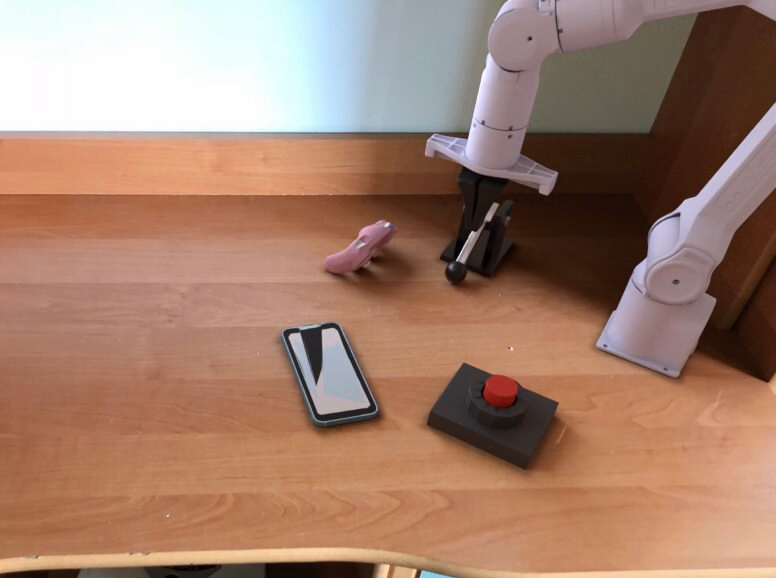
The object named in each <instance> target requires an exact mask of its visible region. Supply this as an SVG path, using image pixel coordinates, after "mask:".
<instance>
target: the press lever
mask: <svg viewBox="0 0 776 578" xmlns="http://www.w3.org/2000/svg"><path fill="white" fill-rule="evenodd" d="M499 209H500V204H499V203H497V202H494V203H493V205H492V206H491V208H490V210H489V212H488V213H487V215H486V218H485V220H484V222H483V225H482V226H481V227H480V229H479V230H478V231H477V232H473V231H472V233H471V234H470V236H469V238H468V240H467V242H466V244H465V246H464V248H463V249H462V251H461V253H460V255H459V257H458V259H457V261H453V262H451V263H448V264H447V265H446V267H445V269H444V276H445V278H446V280H447V281H448V282H449V283H452V284H460V283H462V282H463V281H464V280H465V279H466V278H467V275H468V270H467V268H466V266H465V265H466V263H467V261H468V259H469V257H470V256H471V254H472V252H473V250H474V248H475V246H476V244H477V242H478V241H479V239H480V237H481V235H482V233H483V231H484V229H485V230H488V231H490V230H491V226H492V222H493V219H494V215H495V214H496V212H497V211H498V210H499Z"/></svg>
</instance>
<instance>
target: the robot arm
mask: <svg viewBox="0 0 776 578" xmlns="http://www.w3.org/2000/svg"><path fill="white" fill-rule="evenodd" d="M735 6H746V7H748V8H750V9H752V10H754V11H755V12H757V13H759V14H761V15H763V16H765V17H767V18H769V19H770V20H773V21H775V22H776V0H507V1H505V2H504V3H503V5H502V6H501V8H500V10H499V11H498V13H497V15H496V17H495V19H494V20H493V22H492V25H491V27H490V28H489V32H488V35H487V50H488V54H487V56H486V59H485V68H484V69H483V72H482V74H481V79H480V83H479V88H478V92H477V97H476V101H475V105H474V110H473V114H472V115H473V116H472V119H471V124H470V129H469V134H468V138H461V137H453V136H446V135H443V134H439V133H434V134H432V135H431V136H430V137H429V138H428V139H427V141H426V147H425V152H424V156H425V157H428V158H433V159H434V158H435V157H439V158H441V159H444V160H448V161H451V162H453V163H456V164H459V165H462V168H461V170H460V172H459V173H458V175H457V177H456V183H457V186H458V188H459V190H460V191H459V192H460V194H461V197H462V201H463V208H464V207H465V216H466V229H468V230H471V231H473V232H477V231H478V230H479V229H480V227H481V226H482V225H483V222H484V220H485V218H486V215H487V213H488V212H489V210H490V208H491V206H492V205H493V203H496V201H497V199H498V197H499V196H500V195H501V193H502V192H503V191H504V190H505V189H506V188H507V186H508V185H509V184H510V183H511V182H515V183H518V184H521V185H524V186H527V187H529V188H533V189H536V190H538V193H539V194H541V195H544V196H549V195H550V194H551V192H552V191H553V189H554V188H555V184H556V182H557V179H558V176H559V172H558V171H556V170H552V169H550V168H547V167H545V166H544V165H542V164H540V163H538V162H537V161H534V160H533V159H530V158H529V157H527V156H525V155H523V154H521V151H522V146H523V144H524V140H525V137H526V132H527V129H528V126H529V125H528V124H529V121H530V119H531V113H532V111H533V108H534V107H533V106H534V103H535V100H536V96H537V92H538V88H539V84H540V71H541V67H542V63H543V61H544V60H545V59H546V57H548V55H551V54H552V55H560V54H565V53H570V52H574V51H579V50H585V49H590V48H594V47H599V46H603V45H608V44H612V43H617V42H621V41H626V40H628V39H629V38H631V37H632V35H633V34H634V33H635V32H636V30H637V29H638V28H639V27H640V26H641V25H642V24H644V23H645V22H650V21H656V20H662V19H666V18H672V17H680V16H684V15H690V14H696V13H702V12H706V11H712V10H720V9H725V8H729V7H730V8H731V7H735ZM775 189H776V102H774V104H772V106H771V107H770V108H769V109H768V111H767V112H766V113H765V114H764V116H762V118H761V119H760V120H759V122H758V123H757V124H756V125H754V127H753V129H752V130H751V131H750V132H749V133H748V134H747V135H746V137H745V138H744V139H743V140H742V142H741V143H740V144H739V145H738V146H737V148H736V149H735V150H734V151H733V152H732V154H730V156H729V157H728V159H727V160H726V161H725V162H724V163H723V164H722V165H721V167H720V168H719V169H718V170H717V172H715V174H714V175H713V176H712V177H711V178H710V179H709V181H708V182H707V183H706V184H705V185H704V187H703V188H702V189H701V190H700V191H699V193H698V194H697V195H696V196H694V197H690V198H686V199H684V200H683V201H682V203H681V204H680V205H679V206H678V207H677V208H676V209H675V210H673V211H672V212H669V213H667V214H666V215H664V216H662V217H660V218H659V219H657V220H656V221H655V222H654V223H653V225H652V226H651V227H650V229H649V231H648V235H647V246H648V247H647V255H646V257H645V258H644V259H643V260H642V261H641V262H640V263H638V264H637V265H636V266H635V268H634V269H633V271H632V274H631V276H630V277H629V279H628V283H627V285H626V287H625V289H624V292H623V294H622V296H621V299H620V301H619V303H618V305H617V308H616V310H613V311H612V313H611V315H610V317H609V318H608V321H607V323H606V325H605V326H604V328H603V330H602V332H601V334H600V336H599V338H598V340H597V342H596V344H595V347H596V348H597V349H599V350H601V351H603V352H605V353H608V354H611V355H614V356H617V357H619V358H621V359H624V360H627V361H629V362H632V363H634V364H637V365H640V366H642V367H645V368H648V369H649V370H652V371H655V372H658V373H660V374H663V375H665V376H668V377H671V378H673V379H677V378H678V377H679V376H680V373H681V371H682V369H683V367H684V366H685V364H686V362H687V361H688V358H689V357H690V355H693V353H694V351H695V350H696V348H697V346H698V343H699V339H700V337H701V335H702V333H703V331H704V329H705V327H706V326H707V323H708V321H709V319H710V317H711V315H712V313H713V311H714V308H715V306H716V303H717V298H716V297H714V296H712V295H710V294H708V293H706V292H707V290H708V288H709V286H710V284H711V278H712V275H713V273H714V271H715V270H716V268H717V267H718V266H719V265H720V264H721V263H722V261H723V259H724V258H725V255H726V253H727V251H728V248H729V246H730V243H731V241H732V239H733V237H734V235H735V233H736V232H737V230H738V229H739V228H740V227H741V226H742V225H743V223H744V222H745V221H746V220H747V219H748V218H749V217H750V216H751V215H752V214H753V213H754V212H755V211H756V209H757V208H758V207H759V206H760V205H761V204H762V203H763V202H764V201H765V200H766V199H767V197H768V196H770V194H771V193H772V192H773V191H775Z"/></svg>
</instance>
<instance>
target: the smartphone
mask: <svg viewBox="0 0 776 578" xmlns="http://www.w3.org/2000/svg"><path fill="white" fill-rule="evenodd" d="M280 338H281V341H282V344H283V347H284V350H285V352H286V354H287V358H288V361H289V363H290V366H291V368H292V371H293V373H294V376H295V379H296V381H297V384H298V387H299V389H300V392H301V395H302V398H303V400H304V402H305V405H306V409H307V411H308V414H309V416H310V419H311V422H312V423H313V424H314V425H315V426H317V427H320V428H324V427H330V426H336V425H341V424H347V423H354V422H359V421H360V422H361V421H365V420H370V419H374V418H375V417H377V415H378V412H379V406H378V404H377V401H376V399H375V398H374V395H373V393H372V390H371V389H370V386H369V384H368V382H367V379H366V377H365V375H364V373H363V370H362V368H361V367H360V364H359V362H358V360H357V357H356V355H355V353H354V351H353V348H352V346H351V344H350V342H349V339H348V338H347V336H346V333H345V332H344V330H343V327H342V325H341V324H340V323H338V322H336V321H326V322H325V321H324V322H319V323H313V324H305V325H304V324H303V325H297V326H291V327H286V328H283V329H282V331H281V335H280Z"/></svg>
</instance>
